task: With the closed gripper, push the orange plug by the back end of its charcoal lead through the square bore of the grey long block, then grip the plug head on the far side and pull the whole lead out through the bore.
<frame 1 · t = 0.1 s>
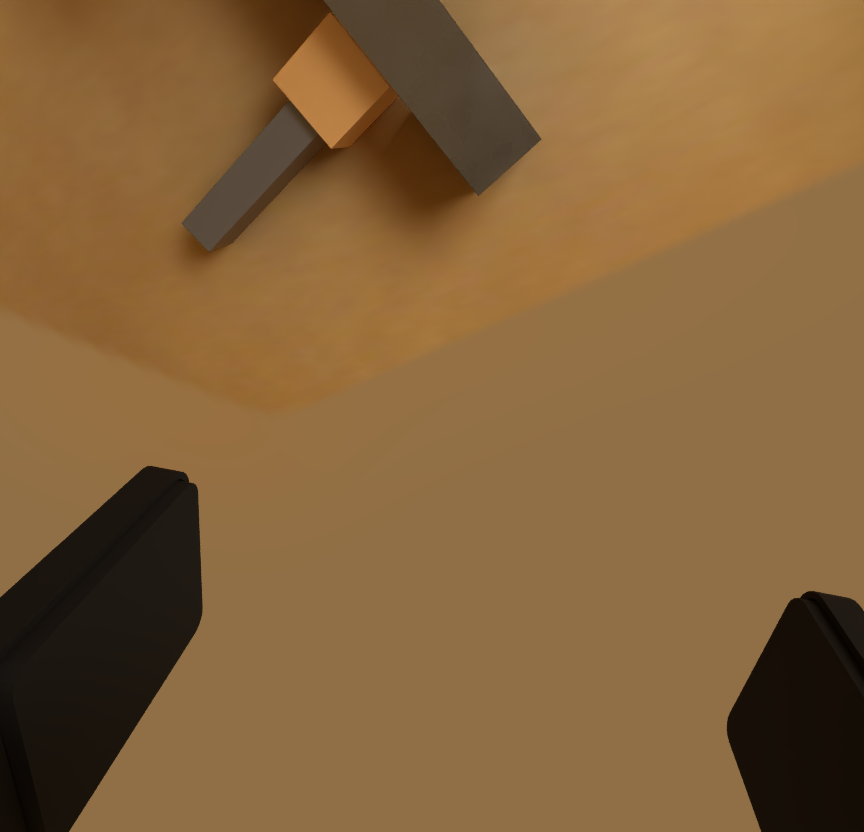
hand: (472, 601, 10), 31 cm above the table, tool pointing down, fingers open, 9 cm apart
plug: (349, 88, 35), on the table
grey long block: (405, 26, 33), on the table
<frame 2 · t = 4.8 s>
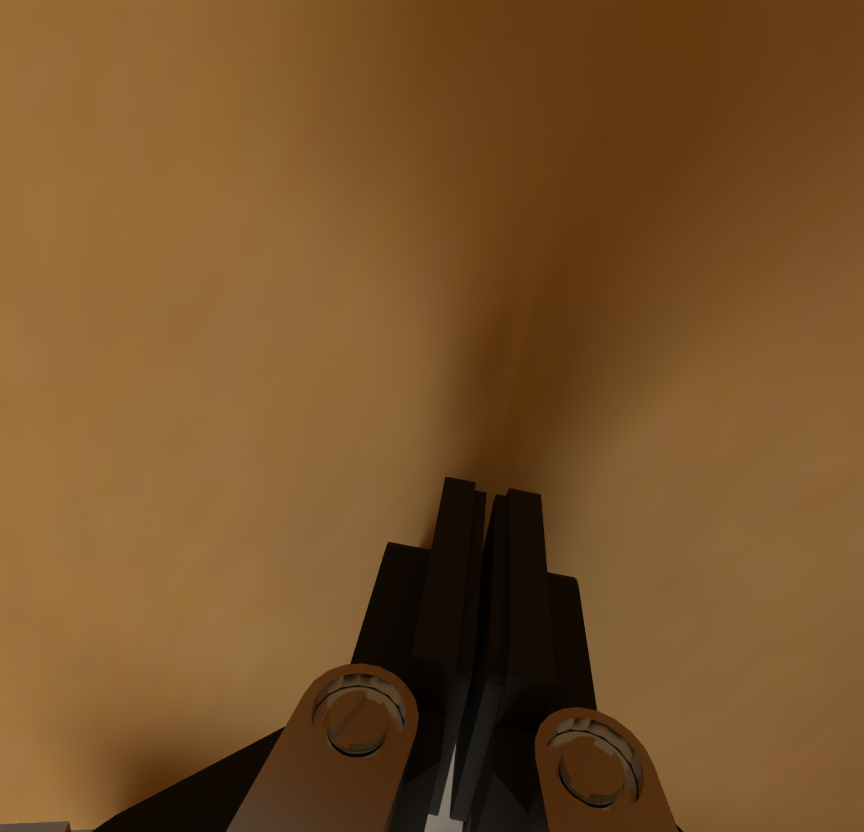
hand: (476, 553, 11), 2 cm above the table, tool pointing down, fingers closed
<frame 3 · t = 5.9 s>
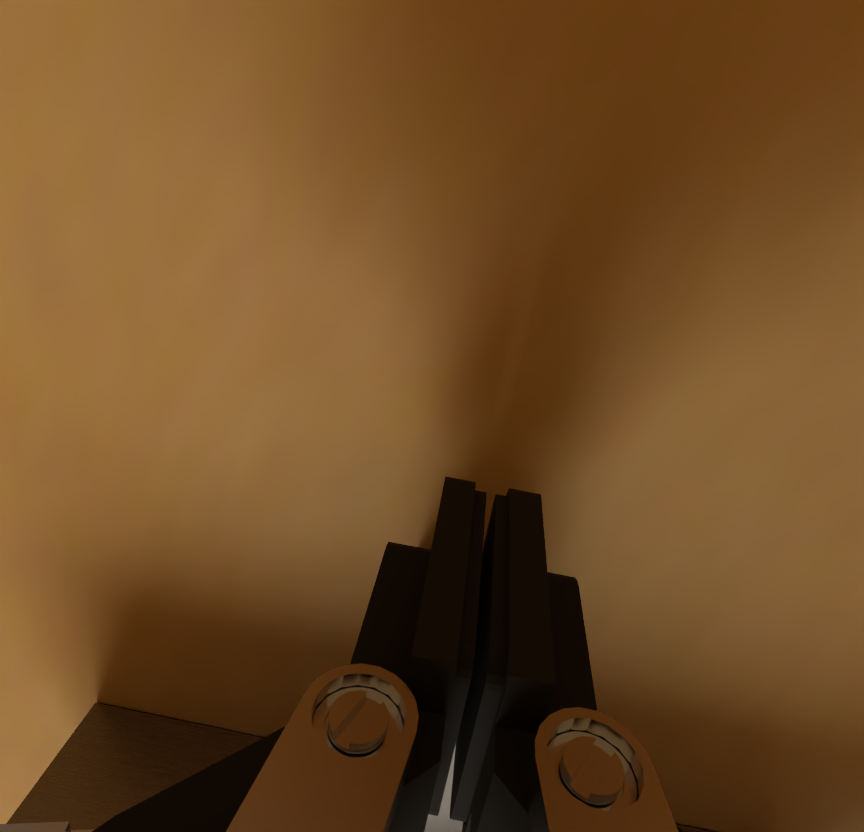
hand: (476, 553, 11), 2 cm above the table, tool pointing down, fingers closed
grey long block: (416, 816, 17), on the table
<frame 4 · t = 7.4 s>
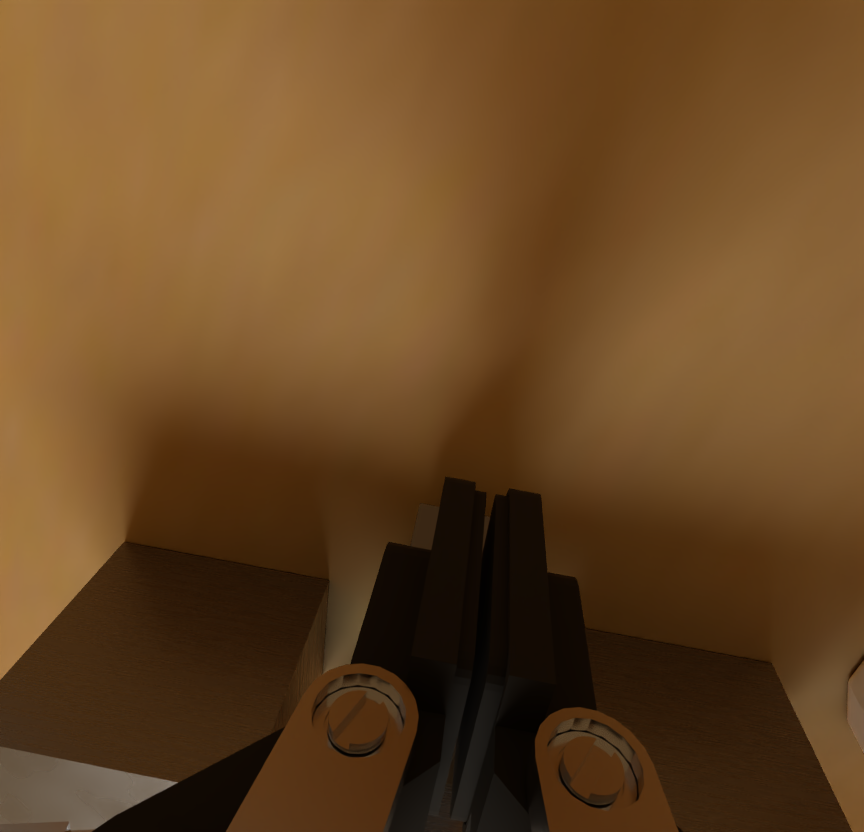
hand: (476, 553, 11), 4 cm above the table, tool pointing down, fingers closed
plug: (404, 779, 20), on the table
grey long block: (431, 651, 18), on the table
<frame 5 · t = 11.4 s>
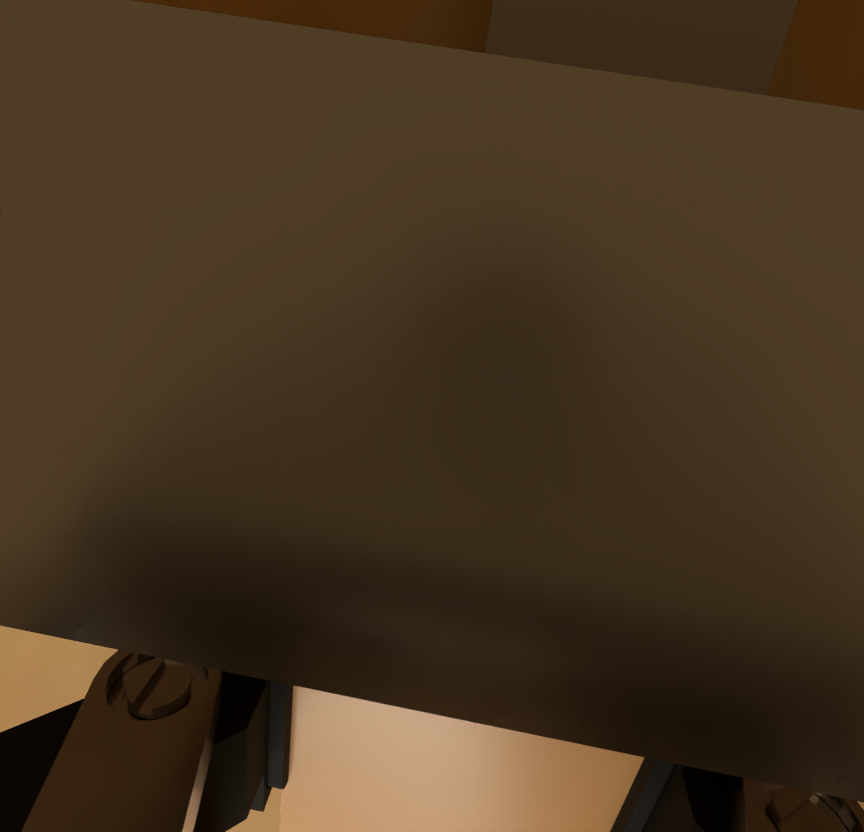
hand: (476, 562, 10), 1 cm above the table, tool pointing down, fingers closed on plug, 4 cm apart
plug: (466, 590, 11), on the table, touching gripper
grey long block: (537, 271, 9), on the table
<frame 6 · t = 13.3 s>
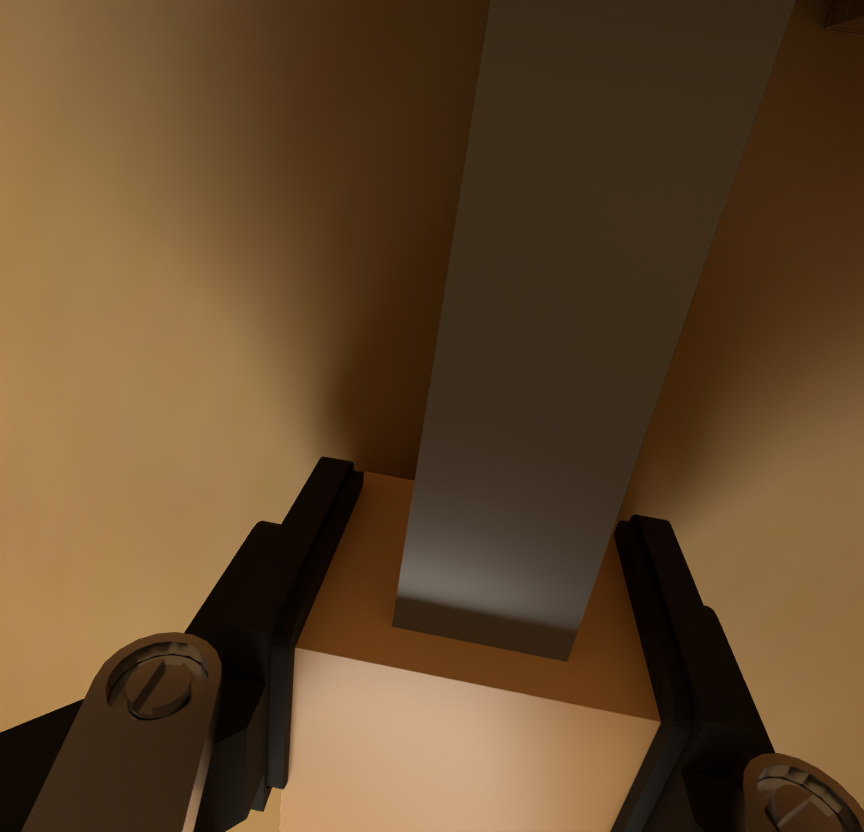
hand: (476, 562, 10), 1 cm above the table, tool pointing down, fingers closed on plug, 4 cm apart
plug: (466, 590, 11), point 1 cm above the table, touching gripper
when the fingers open (1 cm above the table, at t = 15.0 s): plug stays where it is, on the table.
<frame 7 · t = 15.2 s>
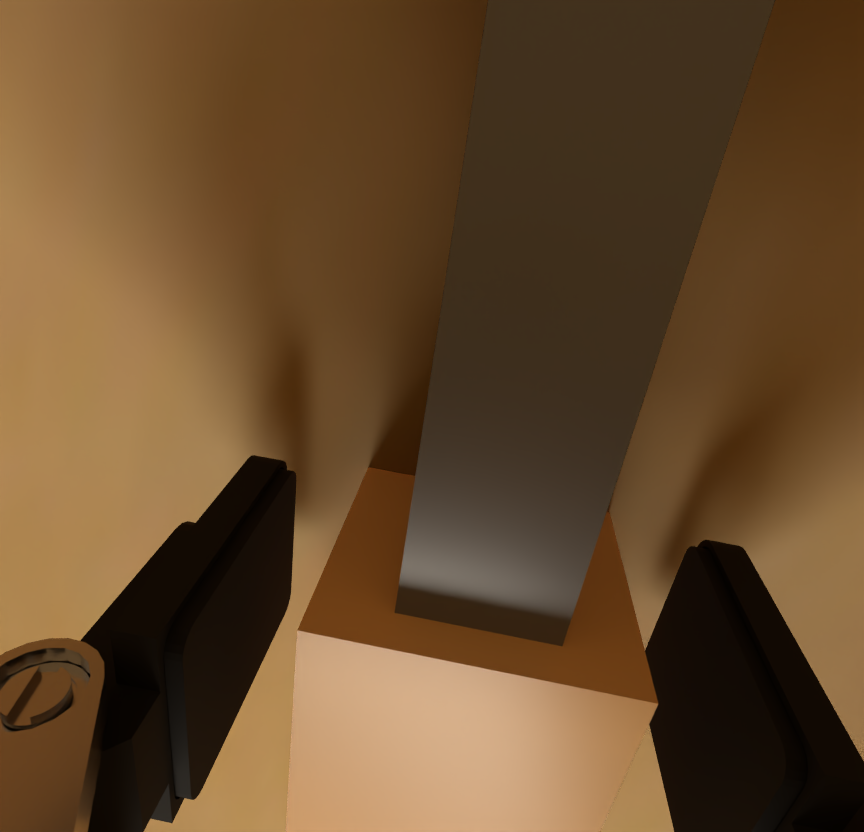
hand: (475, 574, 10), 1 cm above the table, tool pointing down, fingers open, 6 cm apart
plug: (467, 582, 12), on the table
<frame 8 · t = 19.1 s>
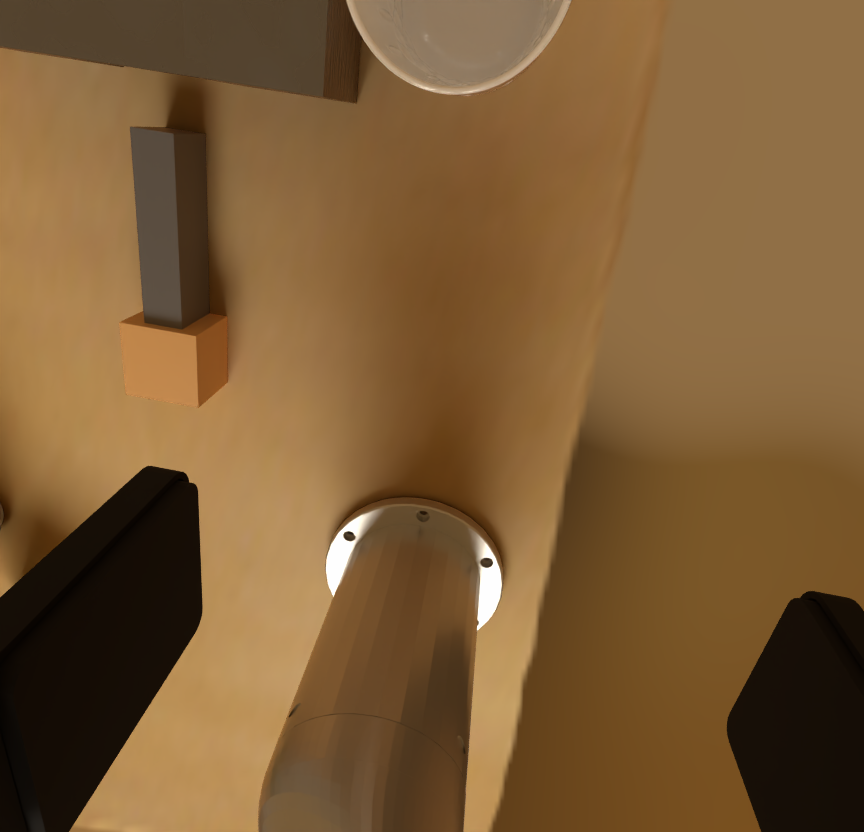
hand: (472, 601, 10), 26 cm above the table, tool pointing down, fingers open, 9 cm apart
white cup: (475, 13, 28), on the table
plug: (193, 344, 37), on the table
grey long block: (181, 31, 30), on the table
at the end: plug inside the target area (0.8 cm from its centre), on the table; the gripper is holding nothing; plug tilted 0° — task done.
